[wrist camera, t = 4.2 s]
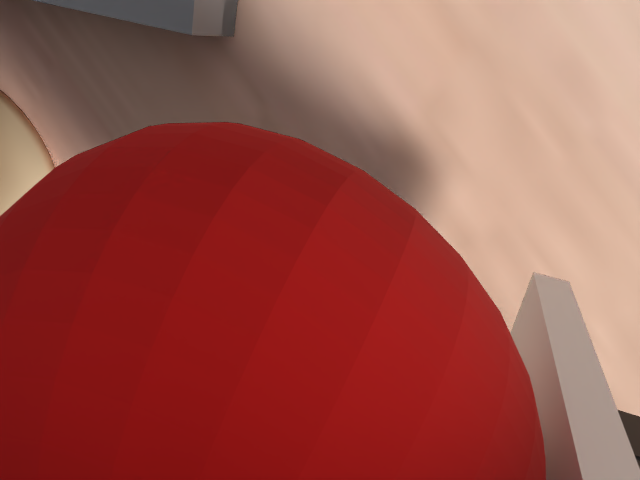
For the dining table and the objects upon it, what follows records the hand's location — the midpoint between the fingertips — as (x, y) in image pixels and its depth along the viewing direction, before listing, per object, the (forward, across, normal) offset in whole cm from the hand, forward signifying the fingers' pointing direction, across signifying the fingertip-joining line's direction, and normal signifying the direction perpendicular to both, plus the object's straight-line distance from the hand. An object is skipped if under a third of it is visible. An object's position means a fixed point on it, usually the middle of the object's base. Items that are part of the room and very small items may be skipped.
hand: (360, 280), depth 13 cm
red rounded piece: (+1, 0, 0) cm, 1 cm away
